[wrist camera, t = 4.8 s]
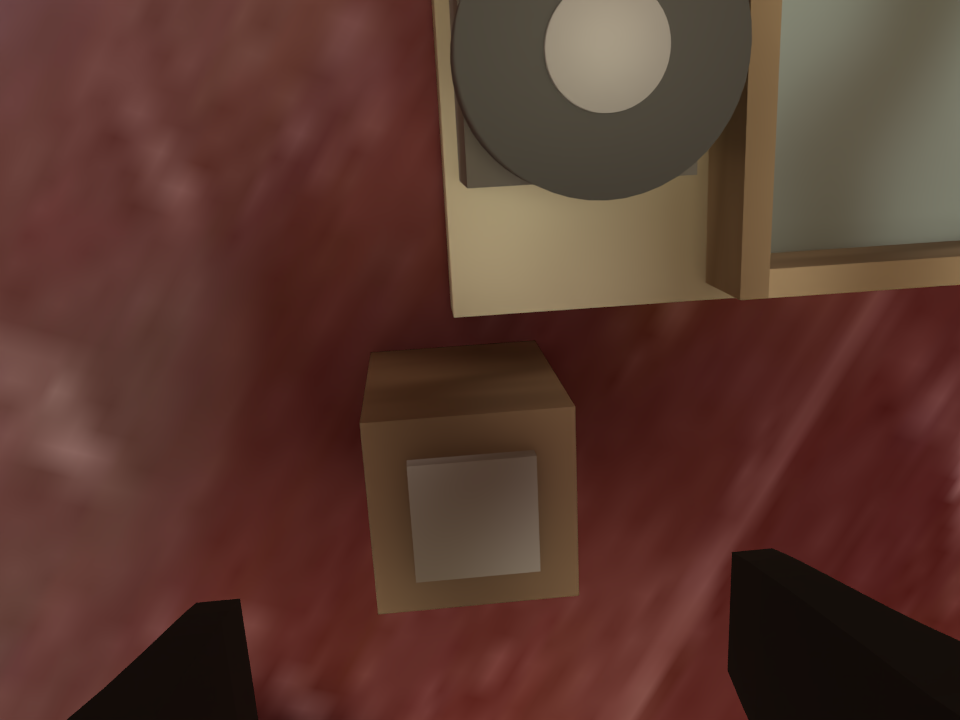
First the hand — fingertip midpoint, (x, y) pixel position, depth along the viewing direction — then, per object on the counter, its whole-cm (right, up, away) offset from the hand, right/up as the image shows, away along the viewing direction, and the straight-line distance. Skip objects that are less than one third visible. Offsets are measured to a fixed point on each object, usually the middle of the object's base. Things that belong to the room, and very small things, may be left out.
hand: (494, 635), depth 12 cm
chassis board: (+5, +10, +7) cm, 13 cm away
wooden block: (-1, +2, +9) cm, 9 cm away
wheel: (+2, +10, +5) cm, 11 cm away
